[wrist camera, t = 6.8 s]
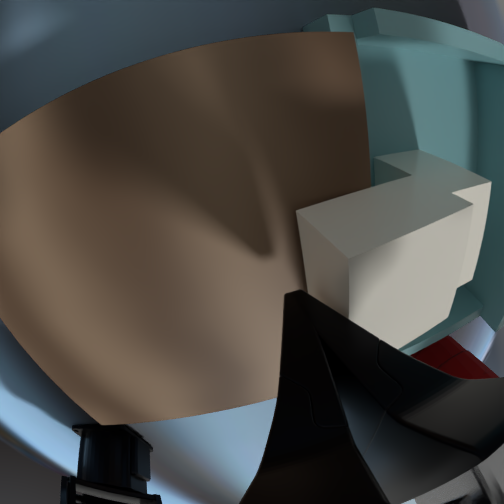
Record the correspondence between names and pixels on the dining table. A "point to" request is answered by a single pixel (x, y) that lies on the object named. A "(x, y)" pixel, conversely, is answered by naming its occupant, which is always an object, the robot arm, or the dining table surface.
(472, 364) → the plastic cup
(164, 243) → the walnut plate
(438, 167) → the tile
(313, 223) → the tile
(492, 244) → the box
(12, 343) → the dining table surface
